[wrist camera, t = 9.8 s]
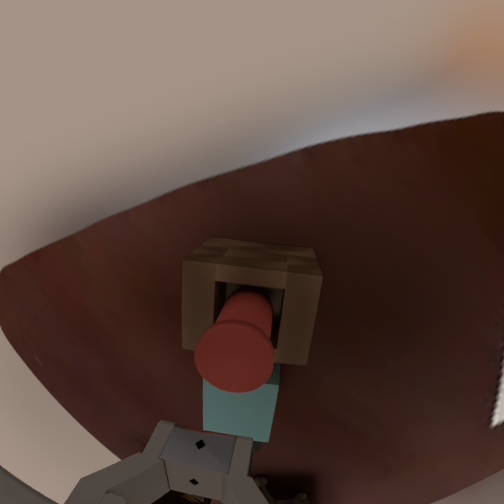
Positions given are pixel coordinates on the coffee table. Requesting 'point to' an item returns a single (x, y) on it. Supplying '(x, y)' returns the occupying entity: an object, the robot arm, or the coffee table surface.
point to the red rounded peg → (238, 343)
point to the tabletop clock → (300, 500)
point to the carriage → (242, 409)
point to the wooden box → (258, 277)
